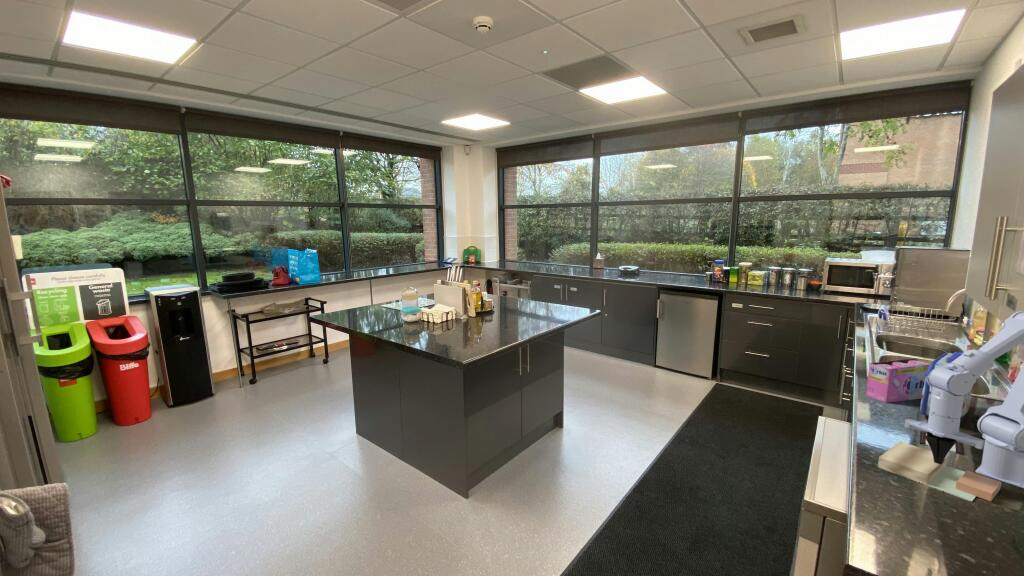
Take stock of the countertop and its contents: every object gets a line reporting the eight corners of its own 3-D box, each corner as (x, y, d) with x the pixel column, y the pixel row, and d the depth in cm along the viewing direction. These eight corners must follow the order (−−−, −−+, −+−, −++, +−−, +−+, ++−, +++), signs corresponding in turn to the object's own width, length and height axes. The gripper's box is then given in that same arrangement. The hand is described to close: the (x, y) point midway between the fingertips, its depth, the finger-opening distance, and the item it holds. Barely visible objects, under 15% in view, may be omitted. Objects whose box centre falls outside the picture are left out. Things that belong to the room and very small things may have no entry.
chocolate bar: (959, 432, 134) (962, 453, 122) (959, 434, 135) (961, 456, 122) (920, 423, 141) (919, 442, 128) (920, 425, 141) (919, 445, 128)
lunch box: (932, 399, 161) (939, 344, 158) (972, 408, 153) (980, 350, 150) (915, 419, 145) (922, 357, 142) (958, 430, 137) (966, 365, 134)
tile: (967, 470, 110) (966, 477, 110) (956, 481, 105) (955, 488, 106) (1001, 481, 105) (1000, 489, 105) (991, 493, 100) (990, 501, 101)
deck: (946, 466, 116) (947, 456, 116) (926, 485, 108) (928, 474, 107) (899, 451, 124) (900, 441, 124) (877, 467, 116) (878, 457, 116)
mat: (989, 481, 109) (989, 479, 109) (971, 502, 101) (971, 500, 101) (946, 466, 116) (946, 465, 116) (926, 485, 108) (926, 484, 108)
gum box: (911, 390, 171) (915, 358, 169) (934, 397, 163) (938, 363, 162) (865, 395, 166) (868, 362, 164) (886, 403, 158) (890, 368, 157)
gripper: (902, 407, 114) (897, 454, 115) (981, 428, 101) (973, 480, 103) (912, 402, 117) (906, 447, 119) (988, 421, 105) (981, 471, 107)
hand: (938, 462), depth 111 cm, fingers closed
